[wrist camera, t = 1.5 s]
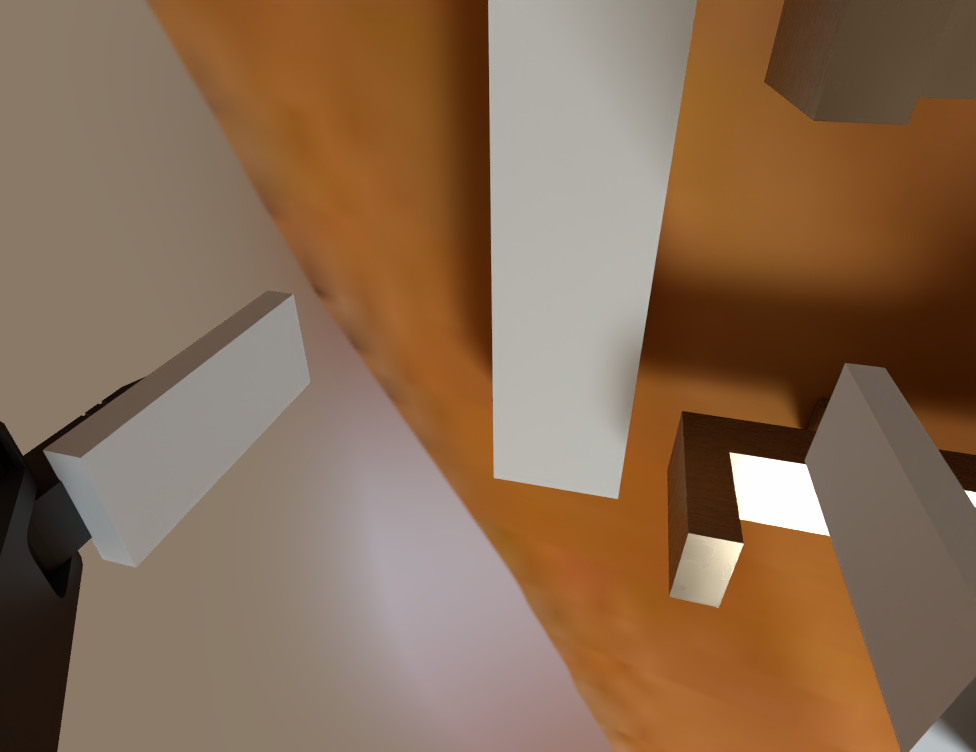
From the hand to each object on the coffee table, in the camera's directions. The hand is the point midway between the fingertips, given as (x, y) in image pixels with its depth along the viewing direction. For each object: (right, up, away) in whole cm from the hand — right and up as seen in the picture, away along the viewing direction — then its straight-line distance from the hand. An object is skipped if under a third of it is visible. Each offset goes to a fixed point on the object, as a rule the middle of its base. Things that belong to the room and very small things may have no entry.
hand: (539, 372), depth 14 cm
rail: (+2, +6, +8) cm, 10 cm away
